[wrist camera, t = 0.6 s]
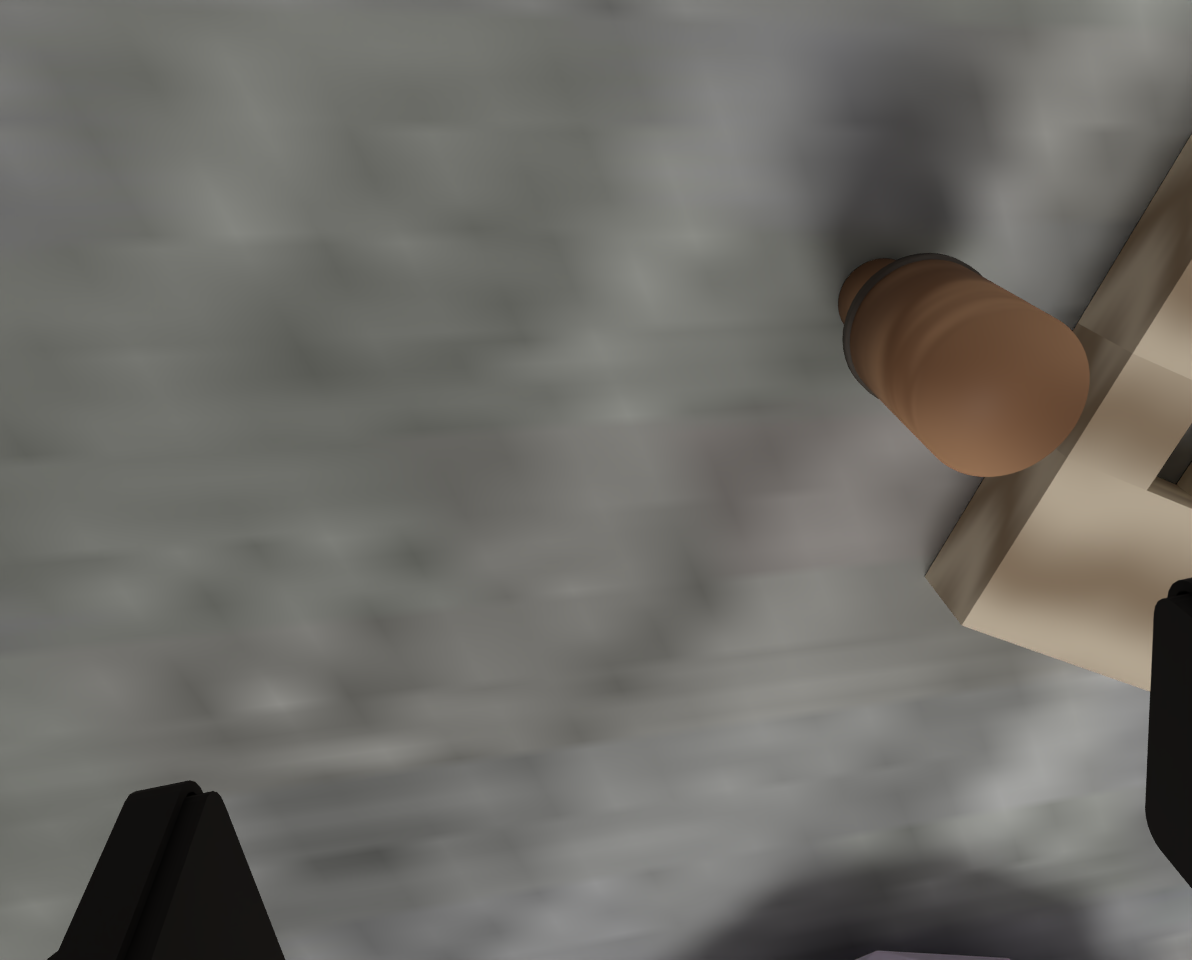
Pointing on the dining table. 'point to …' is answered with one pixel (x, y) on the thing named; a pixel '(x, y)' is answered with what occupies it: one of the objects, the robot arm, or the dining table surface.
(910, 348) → the peg
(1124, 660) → the board
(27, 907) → the dining table surface
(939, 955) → the fruit bowl
